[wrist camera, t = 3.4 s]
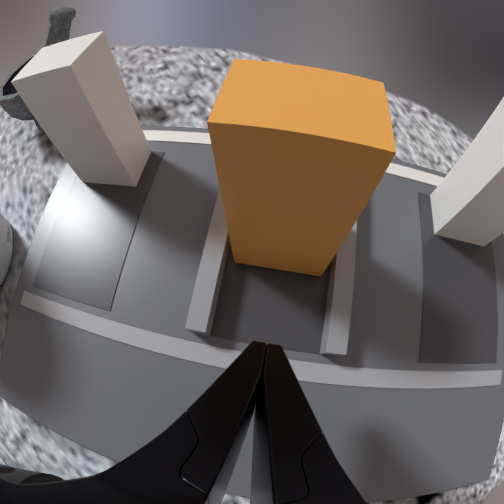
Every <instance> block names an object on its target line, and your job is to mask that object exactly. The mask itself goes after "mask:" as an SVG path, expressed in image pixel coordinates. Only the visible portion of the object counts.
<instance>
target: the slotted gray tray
mask: <svg viewBox="0 0 504 504" xmlns="http://www.w3.org/2000/svg"><path fill="white" fill-rule="evenodd" d="M11 83H12V84H13V86H14V87H15V89H16V91H17V92H18V94H19V95H20V97H21V98H22V100H23V101H24V103H25V104H26V106H27V107H28V109H29V110H30V112H31V113H32V115H33V116H34V117H35V119H36V120H37V122H38V123H39V125H40V126H41V127H42V129H43V130H44V132H45V133H46V134H47V136H48V137H49V139H50V140H51V141H52V143H53V144H54V145H55V147H56V148H57V149H58V151H59V152H60V153H61V155H62V156H63V157H64V159H65V160H66V161H67V164H66V166H65V168H64V170H63V172H62V174H61V176H60V178H59V180H58V182H57V184H56V186H55V188H54V190H53V192H52V194H51V197H50V199H49V201H48V203H47V205H46V208H45V210H44V212H43V215H42V217H41V219H40V222H39V224H38V227H37V229H36V232H35V234H34V237H33V240H32V242H31V245H30V248H29V251H28V253H27V256H26V259H25V262H24V265H23V268H22V271H21V275H20V278H19V281H18V284H17V288H16V291H15V295H14V299H13V303H12V307H11V311H10V315H9V319H8V323H7V328H6V333H5V338H4V343H3V349H2V355H1V361H0V397H2V398H3V399H4V400H6V401H7V402H9V403H10V404H11V405H13V406H14V407H16V408H17V409H19V410H20V411H22V412H23V413H25V414H26V415H28V416H30V417H31V418H33V419H34V420H36V421H38V422H39V423H41V424H43V425H44V426H46V427H48V428H49V429H51V430H53V431H55V432H56V433H58V434H60V435H62V436H64V437H66V438H68V439H70V440H71V441H73V442H75V443H77V444H79V445H81V446H83V447H86V448H88V449H90V450H92V451H94V452H96V453H98V454H101V455H103V456H105V457H108V458H110V459H112V460H115V461H117V462H120V461H122V460H124V459H125V458H127V457H128V456H130V455H131V454H133V453H134V452H135V451H137V450H138V449H140V448H141V447H143V446H144V445H146V444H147V443H149V442H150V441H151V440H153V439H154V438H155V437H157V436H158V435H159V434H160V433H162V432H163V431H164V430H165V429H166V428H168V427H169V426H170V425H171V424H172V423H173V422H174V421H175V420H176V419H177V418H178V417H179V416H180V415H181V414H183V413H184V412H185V411H186V410H187V409H188V408H189V407H190V406H191V405H192V404H193V403H194V402H195V401H196V400H197V399H198V398H199V397H200V396H201V395H202V394H203V393H204V392H205V391H206V389H207V388H208V387H209V386H210V385H211V384H212V383H213V382H214V381H215V380H216V379H217V378H218V377H219V376H220V375H221V374H222V373H223V372H224V371H225V370H226V369H227V368H228V367H229V365H230V364H231V363H232V362H233V361H234V360H235V359H236V358H237V357H238V356H239V355H240V354H241V353H242V352H243V350H244V349H245V348H246V347H247V346H248V345H249V344H250V343H251V342H252V341H259V342H265V343H266V346H267V344H268V343H271V344H277V345H281V346H282V348H283V350H284V352H285V354H286V356H287V358H288V360H289V362H290V365H291V367H292V369H293V371H294V373H295V375H296V377H297V379H298V381H299V383H300V386H301V388H302V390H303V392H304V394H305V396H306V398H307V400H308V402H309V404H310V406H311V408H312V411H313V413H314V415H315V417H316V419H317V421H318V423H319V425H320V427H321V429H322V431H323V432H322V434H324V435H325V437H326V439H327V441H328V443H329V445H330V447H331V449H332V451H333V453H334V455H335V457H336V458H337V460H338V462H339V463H340V465H341V466H342V468H343V469H344V471H345V473H346V474H347V476H348V477H349V478H350V480H351V481H352V483H353V484H354V486H355V487H356V488H357V490H358V491H359V493H360V494H361V496H362V497H363V498H364V500H365V501H366V502H376V501H387V500H395V499H403V498H410V497H416V496H422V495H428V494H433V493H438V492H442V491H447V490H451V489H455V488H459V487H463V486H467V485H470V484H474V483H477V482H480V481H483V480H487V479H489V476H490V473H491V470H492V466H493V463H494V459H495V455H496V451H497V447H498V443H499V439H500V434H501V429H502V424H503V419H504V234H503V232H504V97H503V99H502V101H501V102H500V103H499V105H498V107H497V108H496V109H495V111H494V112H493V114H492V115H491V117H490V118H489V119H488V121H487V122H486V124H485V125H484V127H483V128H482V129H481V131H480V132H479V134H478V135H477V136H476V138H475V139H474V140H473V142H472V143H471V144H470V146H469V147H468V148H467V150H466V151H465V152H464V154H463V155H462V156H461V158H460V159H459V160H458V161H457V163H456V164H455V165H454V167H453V168H452V169H451V170H450V172H449V173H448V174H444V173H441V172H438V171H435V170H431V169H428V168H425V167H421V166H418V165H414V164H411V163H407V162H403V161H399V160H396V159H392V161H391V163H390V165H389V166H388V168H387V170H386V172H385V173H384V175H383V177H382V179H381V180H380V182H379V184H378V186H377V187H376V189H375V191H374V193H373V194H372V196H371V198H370V199H369V201H368V203H367V204H366V206H365V208H364V209H363V211H362V213H361V214H360V216H359V218H358V219H357V221H356V222H355V224H354V226H353V227H352V229H351V230H350V232H349V234H348V235H347V237H346V238H345V240H344V242H343V243H342V245H341V246H340V248H339V249H338V251H337V253H336V254H335V256H334V257H333V259H332V260H331V262H330V263H329V265H328V266H327V268H326V269H325V271H324V272H323V274H322V275H321V276H315V275H309V274H302V273H296V272H290V271H284V270H278V269H271V268H265V267H259V266H253V265H247V264H241V263H235V262H234V257H233V252H232V247H231V242H230V237H229V233H228V228H227V223H226V218H225V213H224V208H223V203H222V197H221V192H220V187H219V182H218V177H217V172H216V166H215V161H214V156H213V151H212V145H211V140H210V135H209V129H203V128H186V127H161V126H141V125H140V123H139V121H138V118H137V116H136V113H135V111H134V108H133V106H132V103H131V101H130V98H129V96H128V93H127V91H126V88H125V86H124V83H123V81H122V78H121V76H120V73H119V70H118V68H117V65H116V63H115V60H114V57H113V55H112V52H111V49H110V46H109V44H108V41H107V38H106V35H105V33H104V31H102V32H98V33H93V34H89V35H85V36H81V37H77V38H73V39H69V40H66V41H63V42H59V43H56V44H53V45H50V46H47V47H44V48H42V49H41V50H40V51H39V52H38V53H37V54H36V55H35V56H34V57H33V58H32V59H31V60H30V61H29V62H28V63H27V64H26V65H25V67H24V68H23V69H22V70H21V71H20V72H19V73H18V74H17V75H16V77H15V78H14V79H13V80H12V81H11ZM255 405H256V404H255ZM186 412H187V411H186ZM254 412H255V409H254ZM253 426H254V413H253V416H252V420H251V423H250V426H249V429H248V431H247V434H246V437H245V440H244V443H243V446H242V448H241V451H240V454H239V457H238V460H237V462H236V465H235V468H234V470H233V473H232V476H231V478H230V481H229V484H228V486H227V489H226V492H225V493H226V494H232V495H237V496H243V497H250V492H251V471H252V449H253Z"/></svg>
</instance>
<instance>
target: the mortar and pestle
mask: <svg viewBox="0 0 504 504" xmlns="http://www.w3.org/2000/svg"><path fill="white" fill-rule="evenodd" d="M75 14H76V11H75V10H74V9H73V8H69V7H61V8H56V9H54V10H52V11H51V12H49V15H48V19H49V21H50V22H49V26H48V30H47V35H46V39H45V44H44V47H47V46H50V45H53V44H56V43H59V42H63V41H66V40H69V33H70V27H71V21H72V19H73V18H74V17H75ZM37 53H38V52H37ZM37 53H35V54H34V55H32V56H30V57H29V58H28V59H27V60H25V61H24V62H23V63H22V64H21V65H20V66H19V67H17V68H16V69H15V70H14V71H13V72H12V73H11V74H10V75H9V76H8V77H7V79H6V80H5V82H4V83H3V85H2V86H1V87H0V105H1V106H2V108H3V109H4V110H5V111H6V112H7V113H8V114H9V115H10V116H12V117H13V118H17V119H20V120H34V121H35V124H36V126H37V128H38V129H39V130H43V129H42V127H41V126H40V125H39V123H38V122H37V120H36V119H35V117H34V116H33V115H32V113H31V112H30V110H29V109H28V107H27V106H26V104H25V103H24V101H23V100H22V98H21V97H20V95H19V94H18V92H17V91H16V89H15V87H14V86H13V84H12V83H11V81H12V80H13V79H14V78H15V77H16V75H17V74H18V73H19V72H20V71H21V70H22V69H23V68H24V67H25V65H26V64H27V63H28V62H29V61H30V60H31V59H32V58H33V57H34V56H35V55H36V54H37Z"/></svg>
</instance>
